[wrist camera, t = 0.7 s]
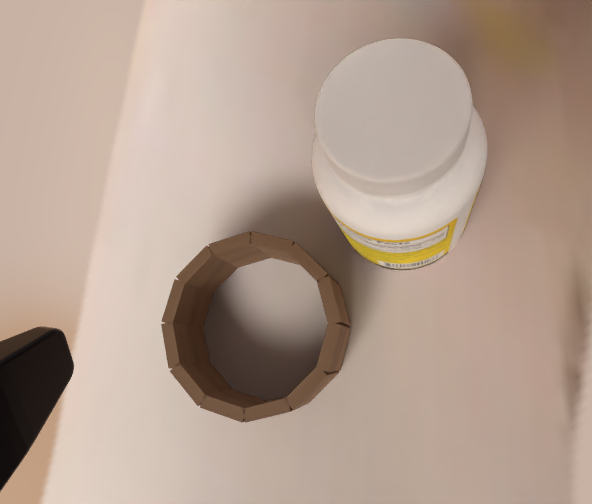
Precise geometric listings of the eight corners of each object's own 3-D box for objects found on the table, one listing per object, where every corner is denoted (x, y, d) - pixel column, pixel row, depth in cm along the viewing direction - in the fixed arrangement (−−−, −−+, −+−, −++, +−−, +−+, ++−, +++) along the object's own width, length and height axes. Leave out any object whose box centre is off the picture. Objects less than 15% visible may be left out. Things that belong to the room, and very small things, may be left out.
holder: (265, 446, 21) (242, 461, 18) (166, 326, 23) (131, 322, 20) (383, 327, 21) (378, 323, 18) (271, 218, 23) (251, 199, 20)
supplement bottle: (394, 134, 22) (380, -24, 13) (493, 204, 21) (559, 80, 11) (317, 222, 22) (248, 128, 13) (409, 299, 21) (407, 254, 11)
